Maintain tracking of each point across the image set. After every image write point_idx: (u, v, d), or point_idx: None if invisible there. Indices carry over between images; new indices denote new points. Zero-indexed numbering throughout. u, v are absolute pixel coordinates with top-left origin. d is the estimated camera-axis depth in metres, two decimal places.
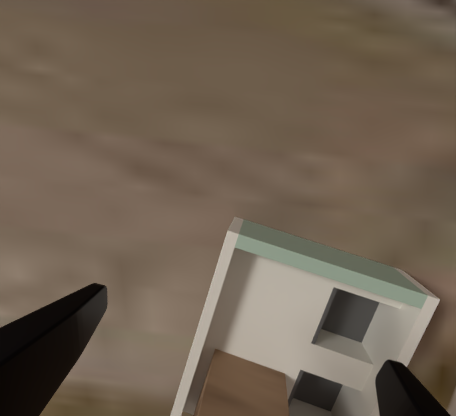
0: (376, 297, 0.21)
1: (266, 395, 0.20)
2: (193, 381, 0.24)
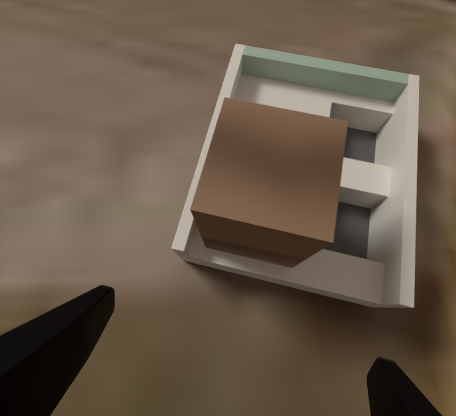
0: (370, 106, 0.23)
1: None
2: None
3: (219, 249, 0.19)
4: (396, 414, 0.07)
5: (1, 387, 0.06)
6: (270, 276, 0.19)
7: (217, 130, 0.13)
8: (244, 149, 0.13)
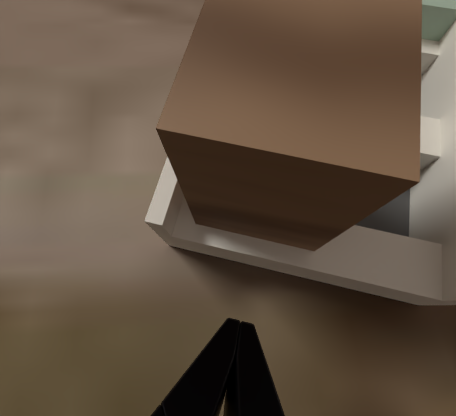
0: None
1: None
2: None
3: (214, 225, 0.14)
4: (233, 369, 0.07)
5: None
6: (285, 262, 0.13)
7: (206, 9, 0.08)
8: (252, 36, 0.07)
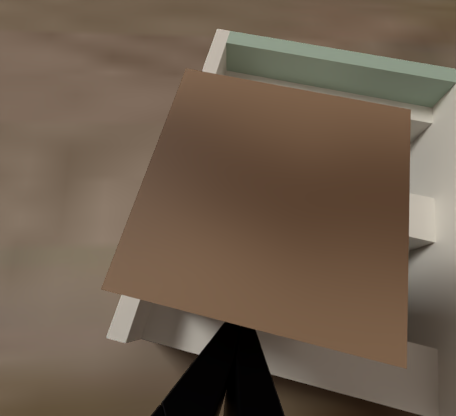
0: None
1: None
2: None
3: None
4: (233, 369, 0.07)
5: None
6: None
7: (169, 126, 0.07)
8: (219, 163, 0.07)
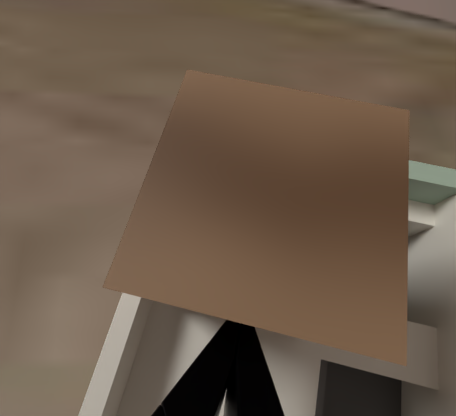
0: None
1: None
2: None
3: None
4: (233, 369, 0.07)
5: None
6: None
7: (170, 126, 0.07)
8: (220, 162, 0.07)
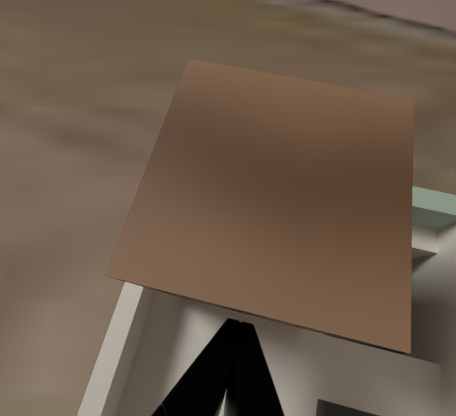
0: None
1: None
2: None
3: None
4: (233, 369, 0.07)
5: None
6: None
7: (172, 115, 0.07)
8: (222, 151, 0.07)
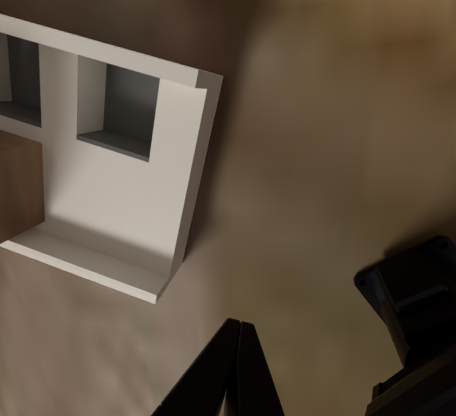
0: None
1: None
2: (128, 261, 0.21)
3: (38, 212, 0.20)
4: (233, 369, 0.07)
5: None
6: (182, 207, 0.18)
7: None
8: None
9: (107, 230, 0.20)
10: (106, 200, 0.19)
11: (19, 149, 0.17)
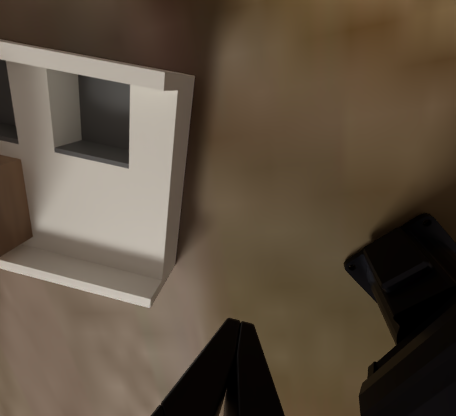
0: None
1: None
2: (120, 268, 0.21)
3: (25, 228, 0.20)
4: (233, 369, 0.07)
5: None
6: (167, 210, 0.18)
7: None
8: None
9: (96, 239, 0.20)
10: (91, 210, 0.19)
11: None
